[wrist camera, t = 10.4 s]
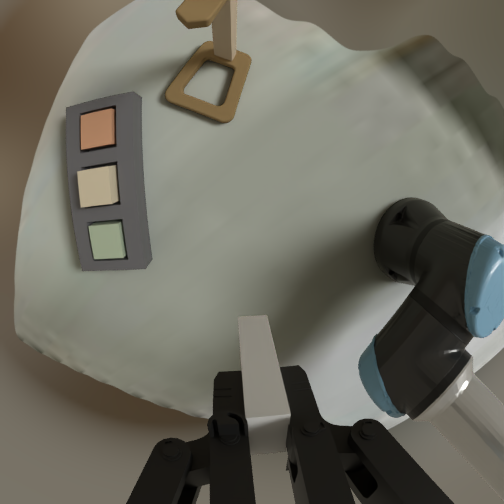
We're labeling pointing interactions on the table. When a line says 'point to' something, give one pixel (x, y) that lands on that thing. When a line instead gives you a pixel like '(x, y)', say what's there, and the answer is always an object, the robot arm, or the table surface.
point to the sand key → (98, 186)
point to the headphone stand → (211, 56)
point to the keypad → (129, 182)
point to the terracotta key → (98, 129)
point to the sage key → (108, 239)
